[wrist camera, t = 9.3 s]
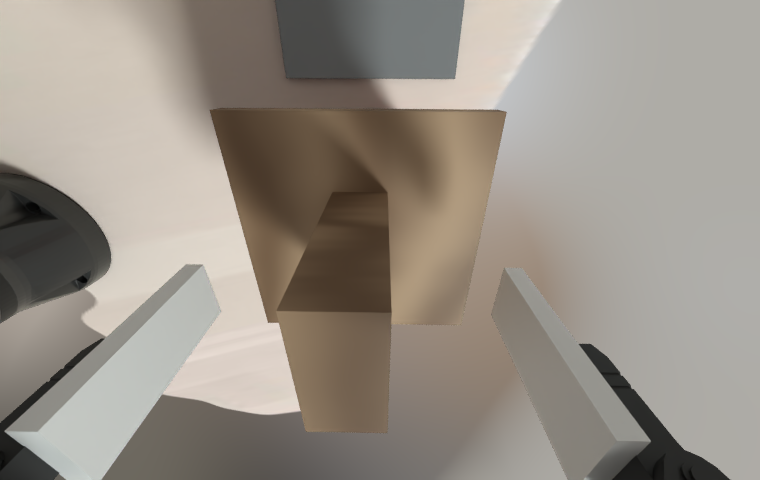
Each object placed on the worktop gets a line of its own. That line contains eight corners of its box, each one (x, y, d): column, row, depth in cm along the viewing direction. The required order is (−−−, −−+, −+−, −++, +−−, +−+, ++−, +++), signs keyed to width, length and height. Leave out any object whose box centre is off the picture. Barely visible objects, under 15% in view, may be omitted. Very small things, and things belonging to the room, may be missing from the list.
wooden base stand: (273, 310, 21) (193, 476, 12) (222, 108, 14) (-53, 151, 5) (457, 312, 21) (511, 482, 12) (497, 109, 14) (695, 157, 5)
